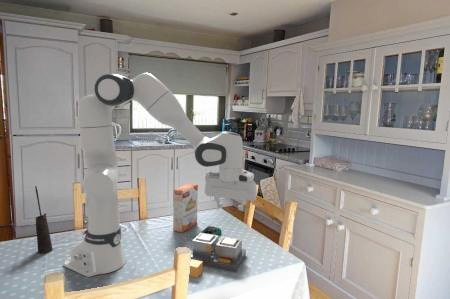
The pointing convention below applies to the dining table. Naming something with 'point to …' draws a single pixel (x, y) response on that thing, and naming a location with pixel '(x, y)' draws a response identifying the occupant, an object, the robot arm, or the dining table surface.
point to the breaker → (206, 238)
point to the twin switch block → (218, 253)
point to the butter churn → (42, 231)
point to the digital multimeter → (210, 231)
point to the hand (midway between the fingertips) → (229, 208)
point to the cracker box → (185, 207)
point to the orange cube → (195, 267)
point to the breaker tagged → (229, 242)
